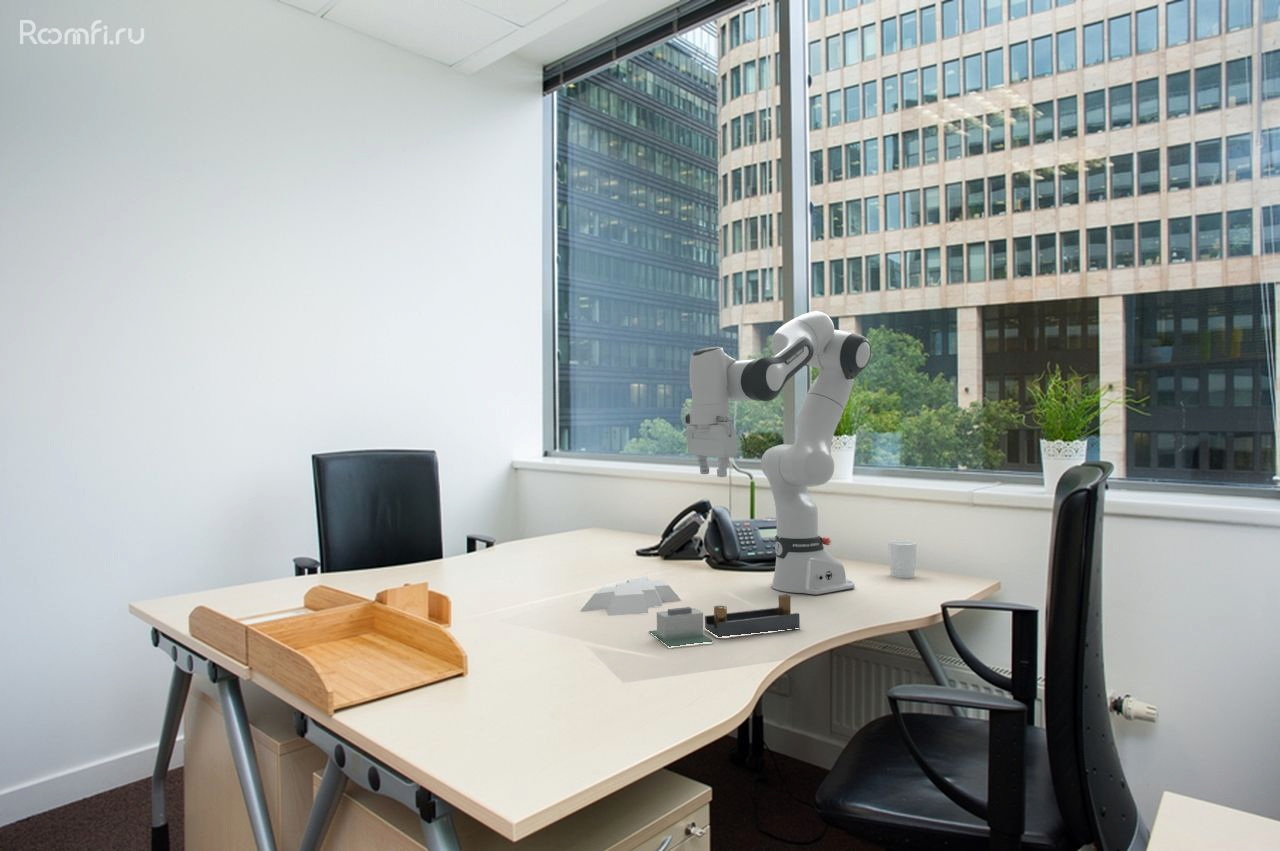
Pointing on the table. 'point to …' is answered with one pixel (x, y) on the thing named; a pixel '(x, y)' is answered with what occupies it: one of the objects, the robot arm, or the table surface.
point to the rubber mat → (683, 640)
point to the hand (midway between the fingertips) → (713, 475)
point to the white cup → (902, 558)
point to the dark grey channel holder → (752, 620)
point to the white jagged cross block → (631, 597)
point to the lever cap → (679, 623)
